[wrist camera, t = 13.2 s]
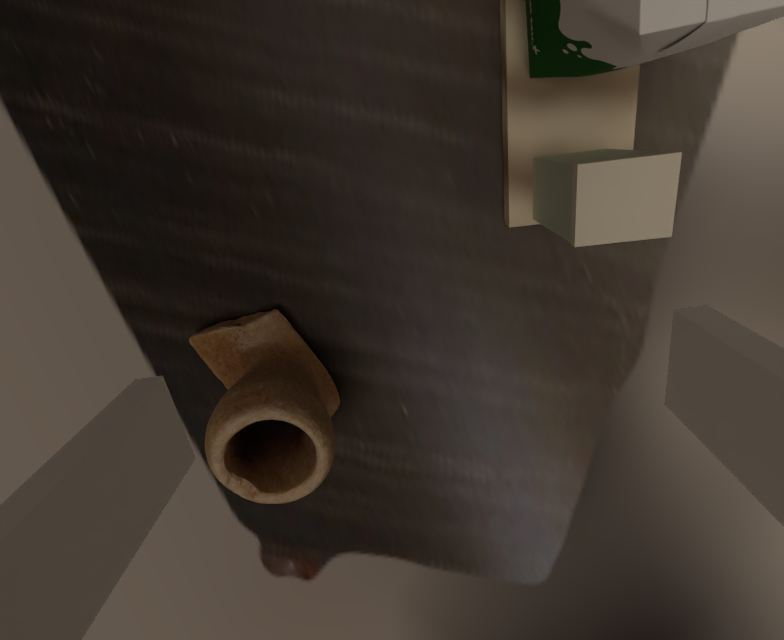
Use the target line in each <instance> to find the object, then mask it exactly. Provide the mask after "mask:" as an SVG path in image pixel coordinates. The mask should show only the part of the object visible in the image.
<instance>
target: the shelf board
mask: <svg viewBox="0 0 784 640" xmlns="http://www.w3.org/2000/svg"><path fill="white" fill-rule="evenodd" d="M500 35H501V81H502V128H503V174H504V221H505V224H506V225H507V226H508V227H518V226H527V225H536V224H540V223H538V222H537V221H535V220H534V219H533V158H534V157H542V156H551V155H559V154H567V153H575V152H583V151H592V150H600V149H624V150H633V145H634V133H635V121H636V109H637V97H638V85H639V73H640V64H638V65H635V66H631V67H628V68H624V69H620V70H615V71H611V72H606V73H601V74H596V75H590V76H582V77H551V78H530V69H529V52H528V36H527V19H526V2H525V0H500Z"/></svg>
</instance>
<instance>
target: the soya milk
mask: <svg viewBox="0 0 784 640" xmlns="http://www.w3.org/2000/svg"><path fill="white" fill-rule="evenodd" d="M525 2H526V19H527V36H528V52H529V69H530V78H551V77H582V76H590V75H596V74H601V73H606V72H611V71H615V70H620V69H624V68H628V67H631V66H635V65H638V64H642V63H645V62H649V61H652V60H655V59H659V58H662V57H665V56H669V55H672V54H675V53H679V52H682V51H685V50H689V49H692V48H695V47H699V46H702V45H705V44H708V43H711V42H714V41H716V40H719V39H721V38H724V37H727V36H729V35H732V34H734V33H737V32H740V31H743V30H746V29H749V28H753V27H756V26H758V25H761V24H764V23H766V22H769V21H772V20H774V19H777V18H780V17H783V16H784V0H525Z"/></svg>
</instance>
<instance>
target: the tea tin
mask: <svg viewBox="0 0 784 640" xmlns="http://www.w3.org/2000/svg"><path fill="white" fill-rule="evenodd" d="M681 156H682V152H656V151H640V150H624V149H600V150H592V151H583V152H575V153H567V154H559V155H551V156H542V157H534V158H533V219H534V220H535V221H537V222H538V223H540V224H541V225H543V226H544V227H546V228H548V229H549V230H551V231H552V232H554V233H555V234H557V235H559V236H560V237H562V238H563V239H565V240H566V241H568V242H569V243H570V244H571V245H572V246H574V247H581V246H590V245H599V244H608V243H617V242H627V241H636V240H645V239H654V238H663V237H672V230H673V222H674V214H675V205H676V197H677V189H678V181H679V173H680V164H681Z"/></svg>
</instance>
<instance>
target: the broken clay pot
mask: <svg viewBox="0 0 784 640" xmlns="http://www.w3.org/2000/svg"><path fill="white" fill-rule="evenodd" d="M189 342H190V344H191V345H192V346H193V347H194V349H195V350H196V351H197V353H198V354H199V355H200V357H201V358H202V359H203V360H204V361H205V363H206V364H207V365H208V366H209V368H210V369H211V370H212V372H213V373H214V374H215V375H216V376H217V377H218V378H219V379H220V380H221V381H222V382H223V383H224V385H225V386H226V388H227V389H228V391H227V392H226V393H225V394H224V395H223V396H222V398H221V399H220V400H219V402H218V404H217V405H216V407H215V409H214V411H213V413H212V415H211V417H210V419H209V422H208V425H207V429H206V437H205V452H206V456H207V460H208V464H209V466H210V468H211V471H212V472H213V474H214V475H215V476H216V478H217V479H218V480H219V481H220V482H221V483H222V484H223V485H224V486H225V487H227V488H228V489H230V490H231V491H233V492H235V493H236V494H238V495H239V496H241V497H243V498H245V499H248V500H251V501H253V502H258V503H266V504H275V503H286V502H291V501H296V500H298V499H300V498H302V497H304V496H306V495H307V494H309V493H311V492H313V491H314V490H315V489H316V488H317V487H318V486H319V485H320V484H321V483H322V481H323V480H324V479H325V477H326V476H327V474H328V472H329V470H330V467H331V465H332V462H333V458H334V451H335V439H334V432H333V425H332V422H331V419H330V418H331V417H332V415H333V414H334V413H335V411H336V410H337V409H338V407H339V405H340V398H339V394H338V391H337V388H336V386H335V384H334V382H333V380H332V378H331V376H330V375H329V373H328V371H327V370H326V368H325V367H324V366H323V364H322V363H321V362H320V361H319V359H318V358H317V357H316V356H315V354H314V353H313V352H312V350H311V349H310V348H309V347H308V345H307V344H306V343H305V341H304V340H303V339H302V338H301V337H300V335H299V334H298V333H297V332H296V331H295V329H294V328H293V327H292V326H291V324H290V323H289V322H288V321H287V319H286V318H285V317H284V316H283V315H282V314H281V313H280V312H279V311H278V310H276V309H273V310H271V311H269V312H257V313H256V314H251V315H249V316H243V317H240V318H239V319H236V320H228V321H224V322H220V323H218V324H216V325H214V326H211V327H208V328H206V329H204V330H202V331H200V332H197V333H194V334H193V335H192V336H191V337H190V339H189Z"/></svg>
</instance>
